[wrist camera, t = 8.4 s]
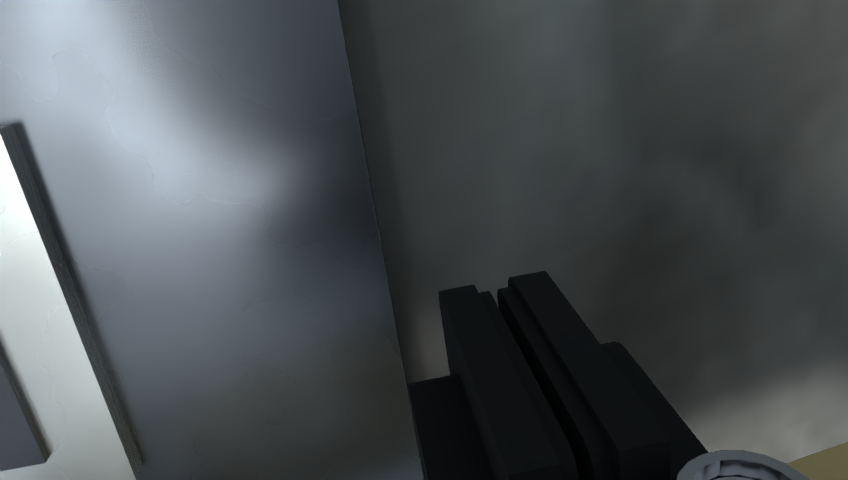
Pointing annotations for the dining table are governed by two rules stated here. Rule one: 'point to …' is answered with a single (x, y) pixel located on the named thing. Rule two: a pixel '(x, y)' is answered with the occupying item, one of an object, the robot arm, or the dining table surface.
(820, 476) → the swing arm
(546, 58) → the dining table surface
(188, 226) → the chassis
